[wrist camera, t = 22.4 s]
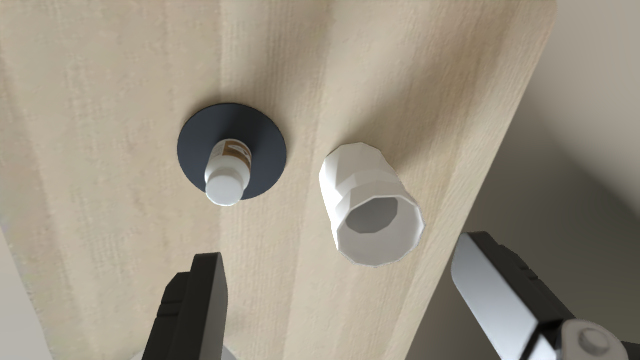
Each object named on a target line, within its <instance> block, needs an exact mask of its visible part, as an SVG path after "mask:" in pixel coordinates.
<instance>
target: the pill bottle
mask: <svg viewBox="0 0 640 360" xmlns="http://www.w3.org/2000/svg"><path fill="white" fill-rule="evenodd" d="M250 168H251V152H250V150H249V148H248V147H247V146H246V145H245V144H244V143H242V142H241V141H239V140H236V139H225V140H222V141H220V142H218V143H217V144H216V145H215V146H214V148H213V150H212V152H211V155H210V158H209V161H208V164H207V167H206V170H205V181H206V194H207V196H208V198H209V199H210V200H211V201H212V202H214V203H215V204H218V205H222V206H229V205H233V204H235V203H237V202H238V201H239V200H240V199H241V197H242V195H243V190H244V189H245V188H246V187H247V185H248V183H249V179H250Z"/></svg>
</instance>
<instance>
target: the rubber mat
mask: <svg viewBox="0 0 640 360" xmlns="http://www.w3.org/2000/svg"><path fill="white" fill-rule="evenodd" d="M225 139H236V140H239V141H241V142H242V143H244V144H245V145H246V146H247V147H248V148H249V150H250V152H251V168H250V179H249V183H248V185H247V187H246V188H245V189H244V190H243V195H242V197H241V199H240V200H244V199H249V198H253V197H256V196H258V195H260V194H262V193H264V192H266V191H267V190H269V189H270V188H271V187H272V186H273V185H274V184H275V183H276V182H277V181H278V179H279V178H280V176H281V174H282V172H283V170H284V167H285V163H286V147H285V142H284V139H283V137H282V134H281V132H280V131H279V129H278V127H277V126H276V125H275V124H274V122H273V121H272V120H271V119H270V118H268V117H267V116H266V115H265V114H263V113H262V112H260V111H258V110H256V109H254V108H252V107H249V106H246V105H242V104H237V103H221V104H215V105H211V106H209V107H206V108H204V109H202V110H200V111H198V112H197V113H196V114H194V115H193V116H192V117H191V118H190V119H189V120H188V121H187V122H186V124H185V125H184V127H183V129H182V131H181V133H180V135H179V139H178V144H177V154H178V160H179V163H180V166H181V168H182V170H183V172H184V173H185V175H186V177H187V178H188V179H189V180H190V181H191V182H192V183H193V184H194V185H195V186H196V187H197V188H199V189H200V190H201V191H203V192H205V193H206V181H205V170H206V167H207V164H208V161H209V158H210V155H211V152H212V150H213V148H214V146H215V145H216V144H217V143H218V142H220V141H222V140H225Z"/></svg>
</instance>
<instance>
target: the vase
mask: <svg viewBox="0 0 640 360" xmlns="http://www.w3.org/2000/svg"><path fill="white" fill-rule="evenodd" d="M319 180H320V185H321V190H322V194H323V198H324V201H325V205H326V208H327V211H328V214H329V217H330V219H331V222H332V226H331V228H332V232H333V236H334V239H335V242H336V246H337V249H338V251H339V252H340V253H341V254H342V255H343V256H345V257H346V258H347V259H348V260H349V261H350V262H351V263H352V264H354V265H361V266H367V267H374V268H377V267H380V266H384V265H387V264H391V263H394V262H397V261H400V260H401V259H402V258H404V257H405V256H406V255H407V254H408V253H410V252H411V251H412V250H413V249H414V248H416V247H417V246H418V244H419V242H420V239H421V236H422V234H423V231H424V229H425V226H426V224H425V221H424V218H423V214H422V211H421V208H420V206H419V204H418V203H417V201H416V200H415V199H414V198H413V197H412V196H411V195H410V194H409V193H408V192H407V191H406V189H405V188H404V186H403V184H402V182H401V181H400V179H399V177H398V175H397V173H396V171H395V170H394V169H393V168H392V167H391V166H390V165H389V164H388V163H387V161H386V160H385V158H384V157H383V155H382V153H381V151H380V150H378V149H376V148H374V147H372V146H369V145H367V144H365V143H362V142H358V143H352V144H345V145H341V146H339V147H338V148H337V149H336V150H334V151H333V152H332V153H331V154H329V155H328V156H327V157H326V158H325V160H324V163H323V165H322V168H321V171H320V174H319Z"/></svg>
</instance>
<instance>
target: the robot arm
mask: <svg viewBox="0 0 640 360" xmlns="http://www.w3.org/2000/svg"><path fill="white" fill-rule="evenodd" d="M451 275H452V279H453V282H454V283H455V285H456V287H457V288H458V290H459V292H460V293H461V295H462V296H463V298H464V300H465V301H466V303H467V305H468V306H469V308H470V309H471V311H472V312H473V314H474V316H475V317H476V319H477V321H478V322H479V324H480V325H481V327H482V329H483V330H484V332H485V333H486V335H487V337H488V338H489V340H490V341H491V343H492V345H493V346H494V348H495V349H496V351H497V353H498V354H499V356H500V357H501V359H502V360H640V344H635V343H630V342H624V341H619V340H618V339H617V338H616V337H615V336H614V335H613V334H612V333H610V332H609V331H608V330H606V329H605V328H603V327H601V326H599V325H597V324H595V323H593V322H590V321H587V320H583V319H577V318H576V317H574V315H573V314H572V313H571V312H570V311H569V310H568V309H567V308H566V307H565V305H564V304H563V303H562V302H561V301H560V300H559V299H558V298H557V297H556V296H555V295H554V294H553V293H552V291H551V290H550V289H549V288H548V287H547V286H546V285H545V284H544V283H543V282H542V281H541V280H540V279H538V276H537V275H536V274H535V273H534V272H533V271H532V270H531V269H529V268H528V266H527V264H526V263H525V262H524V261H523V260H522V259H521V258H520V257H519V256H518V255H517V254H516V253H514V252H513V251H511V250H510V249H508V248H506V247H505V246H503V245H498V244H497V242H496V241H495V240H494V239H493V238H492V237H491V236H490V235H489V234H488V233H487V232H485V231H477V232H464V233H461V234H460V236H459V238H458V242H457V246H456V249H455V253H454V257H453V260H452V264H451ZM227 305H228V290H227V283H226V277H225V272H224V266H223V261H222V256H221V253H220V252H215V253H202V254H195V256H194V259H193V262H192V266H191V270H190V272H180V273H177V274H176V275H175V276H174V278H173V279H172V280H171V281H170V282H169V284H168V285H167V286H166V288H165V291H164V294H163V297H162V300H161V305H160V306H159V309H158V312H157V318H155V321H154V324H153V327H152V330H151V333H150V336H149V339H148V342H147V345H146V348H145V351H144V354H143V357H142V360H221V353H222V346H223V338H224V330H225V322H226V314H227Z"/></svg>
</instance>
